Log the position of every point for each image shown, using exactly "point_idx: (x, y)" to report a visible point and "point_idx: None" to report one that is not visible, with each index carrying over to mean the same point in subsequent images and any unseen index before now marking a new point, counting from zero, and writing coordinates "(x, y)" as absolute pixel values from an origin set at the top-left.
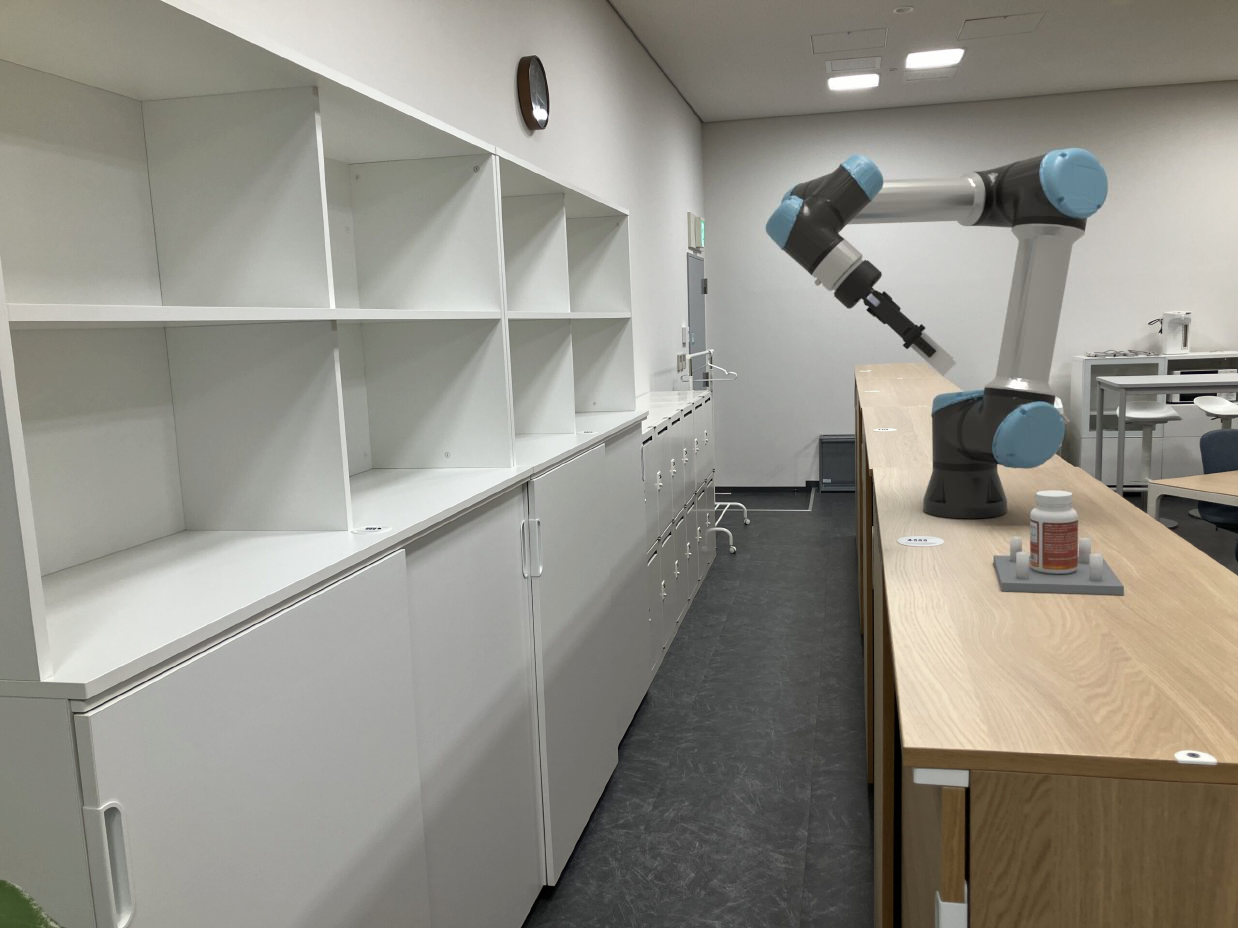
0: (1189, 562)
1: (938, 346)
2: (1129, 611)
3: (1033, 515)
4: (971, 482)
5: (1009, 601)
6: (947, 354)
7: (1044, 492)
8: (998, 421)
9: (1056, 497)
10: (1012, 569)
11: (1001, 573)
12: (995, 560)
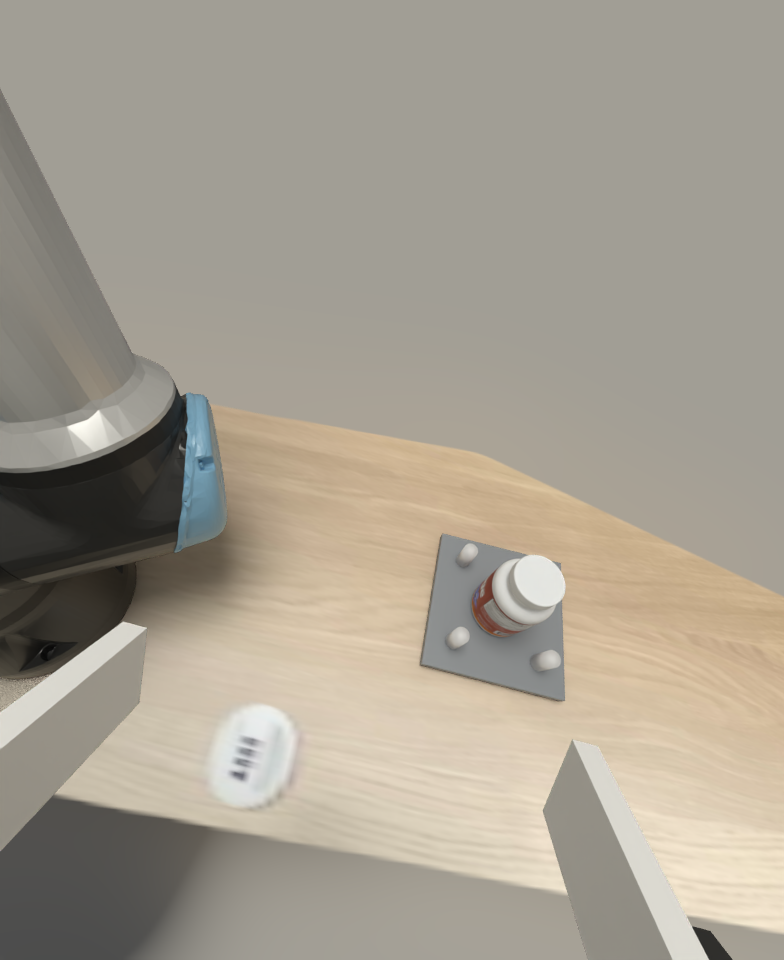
0: (431, 458)
1: (666, 906)
2: (611, 585)
3: (538, 622)
4: (79, 584)
5: (601, 705)
6: (118, 659)
7: (533, 591)
8: (161, 514)
9: (564, 586)
10: (498, 662)
11: (519, 685)
12: (450, 670)
